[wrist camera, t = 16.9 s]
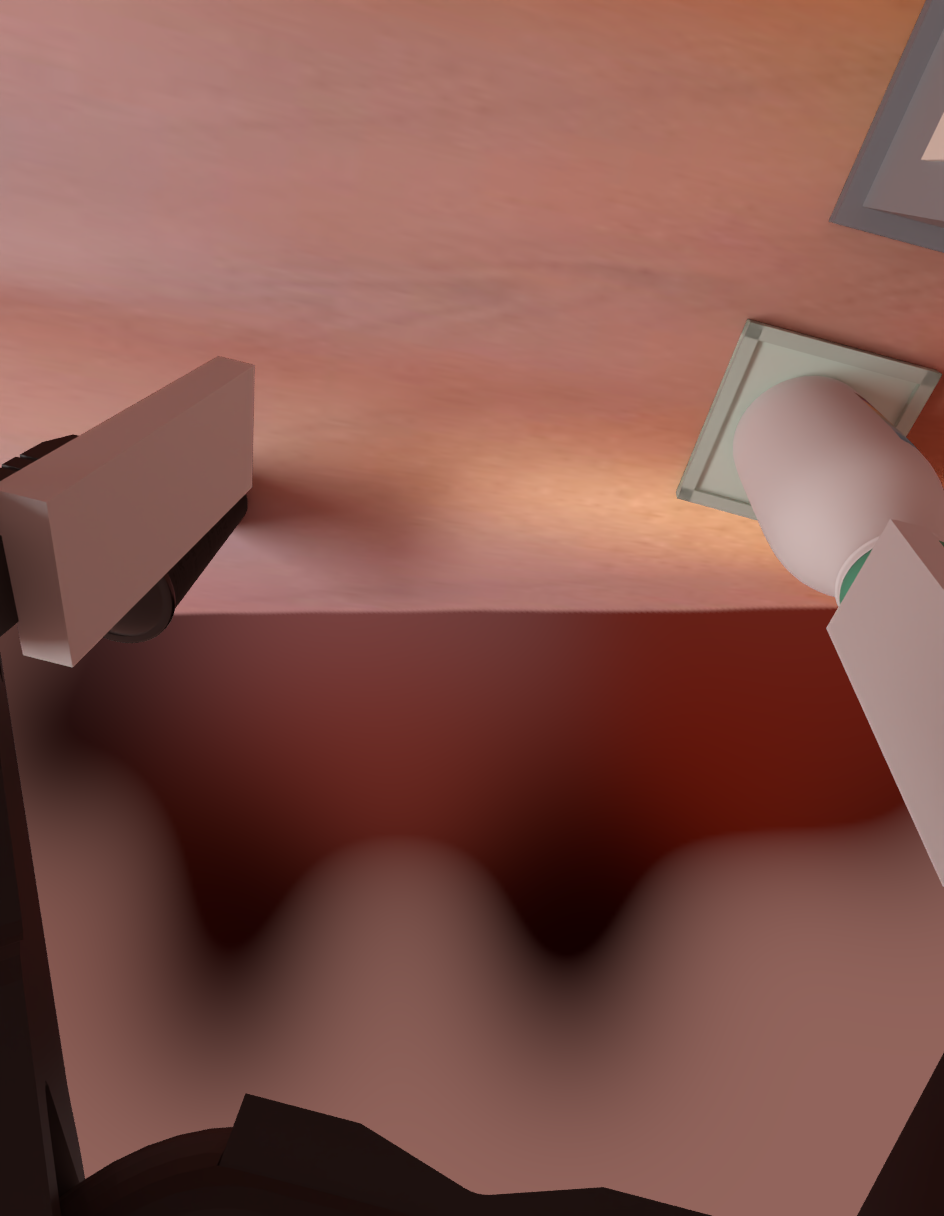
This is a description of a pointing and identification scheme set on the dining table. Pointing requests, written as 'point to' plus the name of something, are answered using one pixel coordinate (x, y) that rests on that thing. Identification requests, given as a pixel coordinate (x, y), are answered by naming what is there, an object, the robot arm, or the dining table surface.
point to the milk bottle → (830, 479)
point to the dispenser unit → (904, 148)
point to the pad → (779, 358)
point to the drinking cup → (174, 584)
